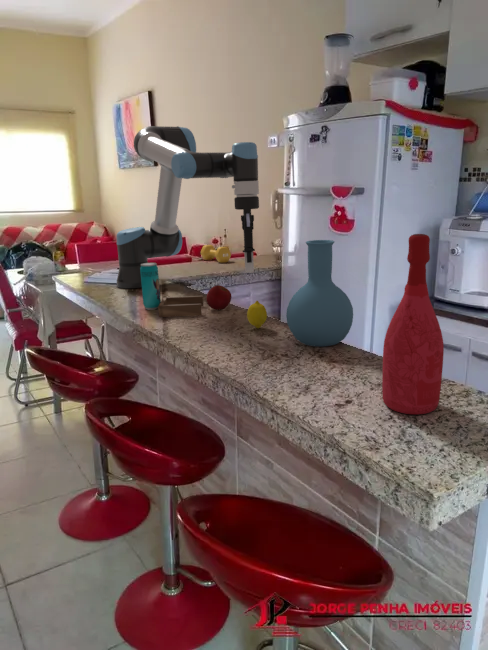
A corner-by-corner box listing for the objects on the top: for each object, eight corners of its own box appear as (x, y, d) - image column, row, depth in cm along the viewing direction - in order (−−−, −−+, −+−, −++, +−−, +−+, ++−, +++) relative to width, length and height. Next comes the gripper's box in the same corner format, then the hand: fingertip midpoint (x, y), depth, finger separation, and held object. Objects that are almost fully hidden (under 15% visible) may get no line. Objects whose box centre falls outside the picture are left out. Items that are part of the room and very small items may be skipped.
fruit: (244, 327, 142) (243, 299, 140) (262, 324, 144) (261, 297, 142) (251, 332, 137) (251, 303, 135) (270, 329, 139) (269, 301, 137)
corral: (164, 307, 170) (163, 297, 169) (203, 305, 170) (202, 295, 169) (159, 317, 157) (158, 306, 156) (201, 315, 157) (200, 304, 156)
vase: (360, 335, 131) (363, 238, 124) (342, 354, 117) (343, 246, 110) (300, 329, 138) (300, 237, 132) (276, 346, 124) (274, 244, 118)
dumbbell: (232, 261, 267) (232, 246, 265) (218, 263, 262) (217, 248, 260) (213, 258, 282) (212, 243, 280) (199, 260, 277) (198, 245, 275)
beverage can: (157, 310, 166) (153, 265, 162) (141, 310, 167) (136, 265, 163) (163, 306, 171) (160, 262, 167) (147, 306, 172) (143, 262, 168)
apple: (215, 314, 158) (214, 289, 156) (203, 309, 165) (201, 285, 163) (236, 310, 162) (235, 285, 160) (223, 305, 169) (221, 282, 167)
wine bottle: (416, 423, 83) (427, 238, 75) (369, 404, 90) (375, 234, 82) (451, 406, 88) (465, 233, 80) (404, 390, 96) (412, 230, 88)
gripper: (234, 196, 161) (237, 269, 167) (234, 196, 148) (238, 276, 154) (257, 195, 161) (260, 268, 167) (260, 195, 148) (262, 275, 154)
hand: (249, 272), depth 160 cm, fingers closed
